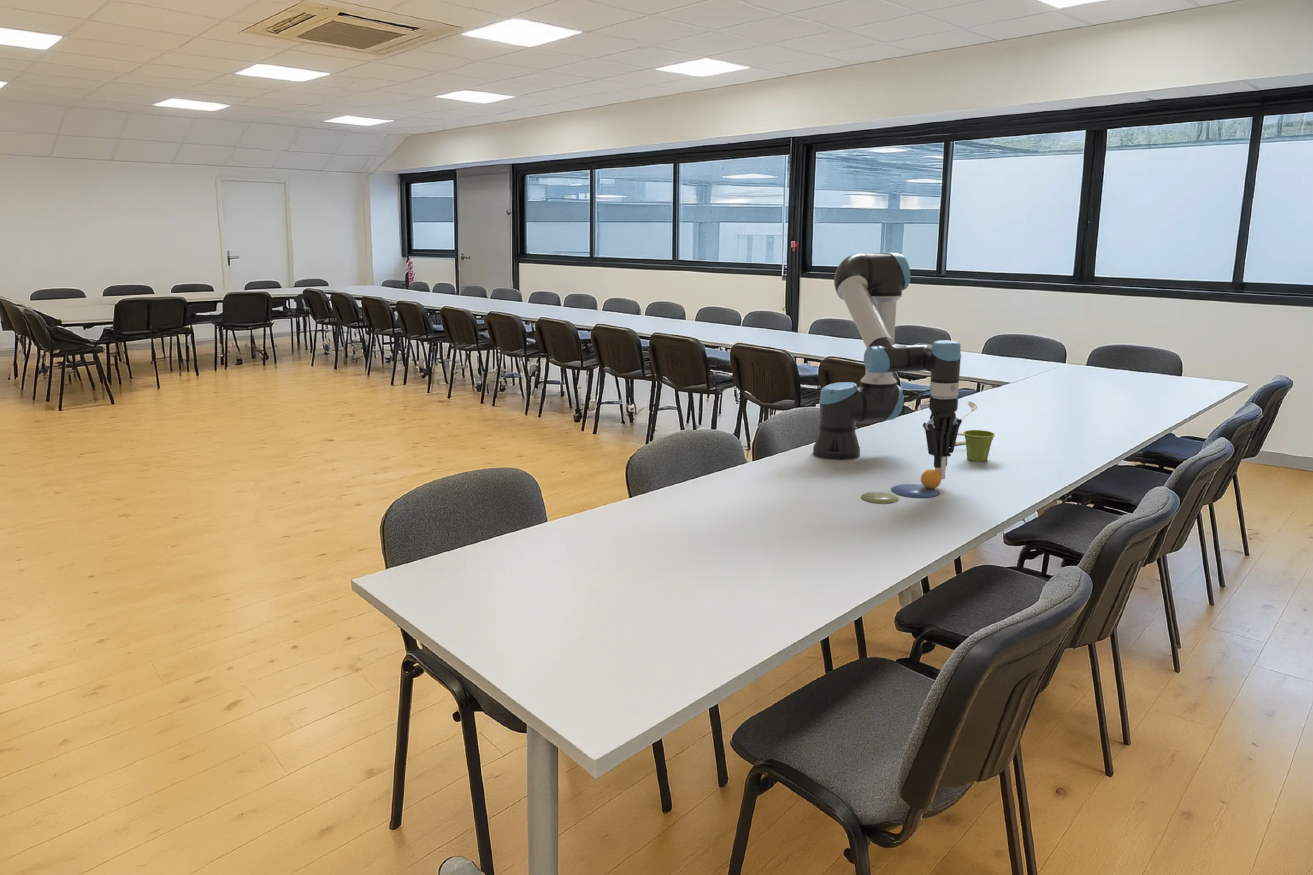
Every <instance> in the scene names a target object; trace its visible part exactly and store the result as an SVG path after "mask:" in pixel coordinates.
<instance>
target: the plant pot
mask: <svg viewBox="0 0 1313 875" xmlns="http://www.w3.org/2000/svg"><path fill="white" fill-rule="evenodd" d="M962 433H963V434H964V435H963V436H964V438H965V441H966V444H965V447H966V448H965V450H966V459H967V460H968V461H972V462H977V463H978V462H984V461H988V457H989V454H990V453H989V452H990V450H991V445H992V442H993V441H994V440H993V439H994V437H995V436H996V434H995V432H992V431H988V430H983V429H968V430H965V431H963V432H962Z"/></svg>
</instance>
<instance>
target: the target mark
mask: <svg viewBox="0 0 1313 875" xmlns="http://www.w3.org/2000/svg"><path fill="white" fill-rule="evenodd" d="M890 489H891V490H890V491H891V493H893V494H894V495H895V494H896V496H897V495H898V496H901V497H905V498H912V499H913V498H914V499H928V498H934V497H937V496H939V495H940V491H939V489H938V488H934V489H928V488H926V487H924V486H923V484H916V483H903V484H896V485H894V486H892V487H891V488H890Z"/></svg>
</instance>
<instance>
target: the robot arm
mask: <svg viewBox="0 0 1313 875" xmlns="http://www.w3.org/2000/svg"><path fill="white" fill-rule="evenodd" d="M906 258H907V257H905V256H904V255H903V254H901V253H897V252H889V251H888V252H872V253H871V252H870V253H869V252H868V253H864V252H863V253H862V252H860V253H859V252H858V253H854V254H851V255H848V256H847V257H846V258H844V259H843V260H842V261H841V262H840V263H839V265H838V266H837V268H836V270H835V273H834V280H833V281H834V282H833V283H834V289H835V292H836V293H837V296H838V297H839V298H840V299H841V300H842V301H844V302H845V305H846V307H847V309H848V312H849V314H850V315H851V317H852V320H853V321H854V324H855V326H856V329H857V331H858V333H859V335H860V337H861V339H862V341H863V343H864V346H865V348H866V349H865V351H864V353H863V362H864V367H865V373H864V375H863V377H862V378H860V381H859V382H860V383H859V386H858V384H857V383H855V382H852V381H846V382H845V381H844V382H843V381H842V382H833V383H830V384H827V385H825V386H823V387H822V388H821V389H820V396H819V401H818V402H819V422H818V423H819V424H818V425H819V426H818V427H819V428H818V433H817V436H816V440H815V442H814V444H813V447H812V448H813V449H812V455H814V456H815V457H818V458H821V459H827V460H836V461H837V460H840V461H841V460H852V459H856V458H859V457H860V456H861V447H860V444H859V440H858V437H857V433H856V425H857V424H856V423H866V422H867V423H869V422H886V421H892V420H893V421H894V420H895V419H896V418H897V417H898V416H899V415H900V414H901V412H902V409H903V405H904V400H905V399H904V394H903V392H904V391H903V389H902V387H901V386H900V385H898V380H897V379H896V378H895V377H894V376H893V373H898V372H899V373H900V372H903V373H904V372H905V373H906V372H929V373H930V384H929V385H930V389H929V395H930V397H929V403H928V405H929V406H928V408H929V410H930V412H931V414H930V416H929V420H928V422H923V424H922V427H923V429H924V431H925V437H926V438H925V439H926V444H927V446H926V447H927V451H928V455H931V456H933V468H934V470H935V471H937V472H938V473H939V474H940V476H941V481H943V480H946V468H947V465H948V457H951V456H952V453H954V450H955V446H956V445H955V443H956V441H957V437H958V435H957V434H958V433H959V430H960V429H959V428H960V426H961V425H962V423H963V419H962V418H958V417H957V415H956V412H957V411H958V409H959V408H958V407H959V399H958V397H957V396H959V383H960V373H961V372H960V371H961V361H962V360H961V358H962V355H961V353H962V352H961V349H962V348H961V345H962V344H961V343H960V342H959V341H956V340H948V339H946V340H935V341H933V343H932V344H930V343H927V342H919V343H915V344H907V345H896V344H895V336H896V335H895V334H896V332H895V331H896V318H897V317H896V314H897V302H898V300H900V298H901V297H902V295H903V291H905V290H906V289H907V288H908V287H909V284H910V282H911V269H910V265H909V262H908V260H907V259H906ZM961 419H962V420H961Z"/></svg>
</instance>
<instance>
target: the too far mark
mask: <svg viewBox="0 0 1313 875" xmlns="http://www.w3.org/2000/svg"><path fill="white" fill-rule="evenodd" d="M860 498H861V499H862V500H863V501H865V502H868V503H870V504H871V503H873V504H881V505H886V504H894V503H897V502H899V501H900V500H899V496H897V495H895V494H894V493H893V494H892V493H889V492H881V491H871V492H865V493H862V494H861V495H860Z"/></svg>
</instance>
